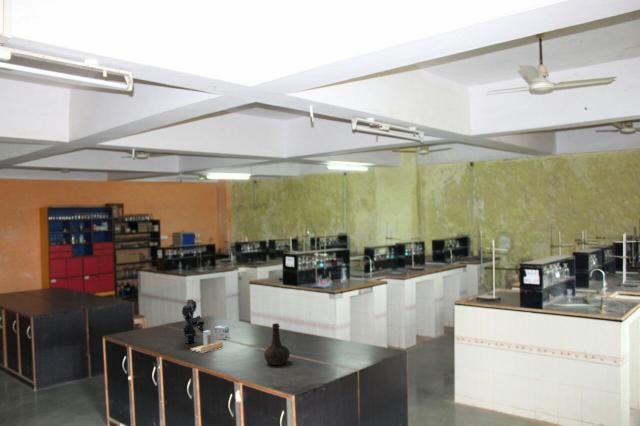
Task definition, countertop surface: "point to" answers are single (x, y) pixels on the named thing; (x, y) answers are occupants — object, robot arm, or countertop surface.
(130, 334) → the countertop surface
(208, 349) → the price rail
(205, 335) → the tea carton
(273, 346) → the glass bottle
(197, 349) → the shelf board
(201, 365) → the countertop surface
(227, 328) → the light bulb box
